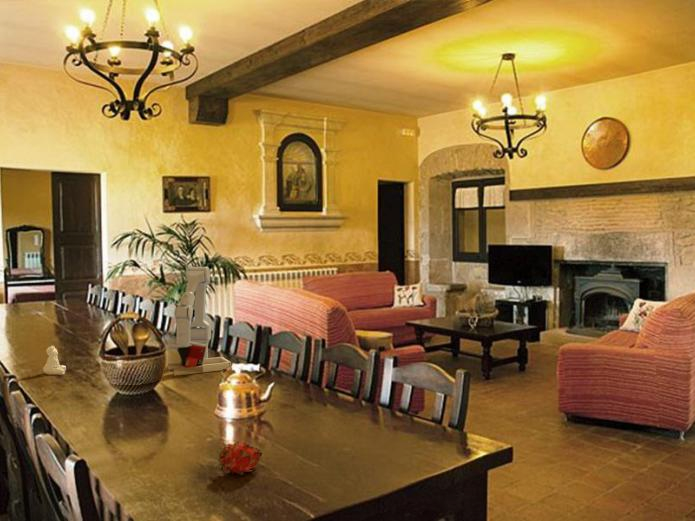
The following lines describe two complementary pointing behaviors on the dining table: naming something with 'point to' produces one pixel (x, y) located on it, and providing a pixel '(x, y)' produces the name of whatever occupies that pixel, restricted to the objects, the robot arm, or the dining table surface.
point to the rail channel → (184, 369)
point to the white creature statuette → (53, 363)
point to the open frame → (215, 364)
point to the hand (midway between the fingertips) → (183, 365)
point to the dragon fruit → (239, 458)
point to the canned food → (195, 355)
